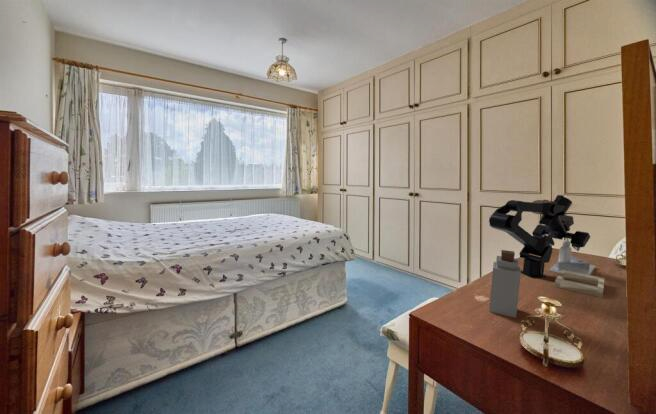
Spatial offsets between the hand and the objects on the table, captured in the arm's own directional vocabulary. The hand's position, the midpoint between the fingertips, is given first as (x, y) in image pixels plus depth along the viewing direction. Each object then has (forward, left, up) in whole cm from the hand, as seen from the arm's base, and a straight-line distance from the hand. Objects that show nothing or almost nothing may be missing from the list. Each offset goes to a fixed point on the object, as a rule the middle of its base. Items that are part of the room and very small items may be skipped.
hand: (565, 247), depth 124 cm
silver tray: (+2, -2, -9) cm, 9 cm away
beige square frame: (-13, -18, -9) cm, 24 cm away
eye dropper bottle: (0, 0, -8) cm, 8 cm away
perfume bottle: (-55, -31, -9) cm, 63 cm away
